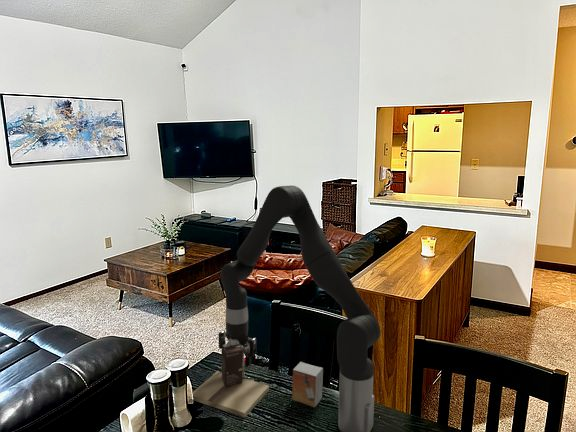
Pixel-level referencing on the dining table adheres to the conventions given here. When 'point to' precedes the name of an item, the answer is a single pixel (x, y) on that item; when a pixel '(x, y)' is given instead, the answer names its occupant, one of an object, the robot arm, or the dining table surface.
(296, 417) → the dining table surface
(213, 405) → the plywood panel
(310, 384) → the small box
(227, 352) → the box
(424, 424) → the dining table surface
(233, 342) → the sprinkles bottle
